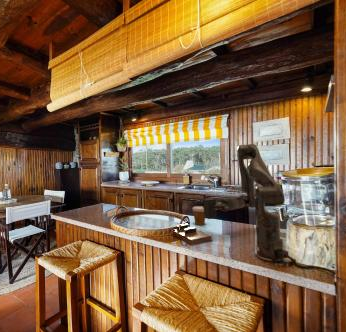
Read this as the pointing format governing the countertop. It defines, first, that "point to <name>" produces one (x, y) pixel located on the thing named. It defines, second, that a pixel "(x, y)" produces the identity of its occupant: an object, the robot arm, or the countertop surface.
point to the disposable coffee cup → (199, 215)
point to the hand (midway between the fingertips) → (206, 207)
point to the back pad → (209, 213)
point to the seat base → (191, 235)
